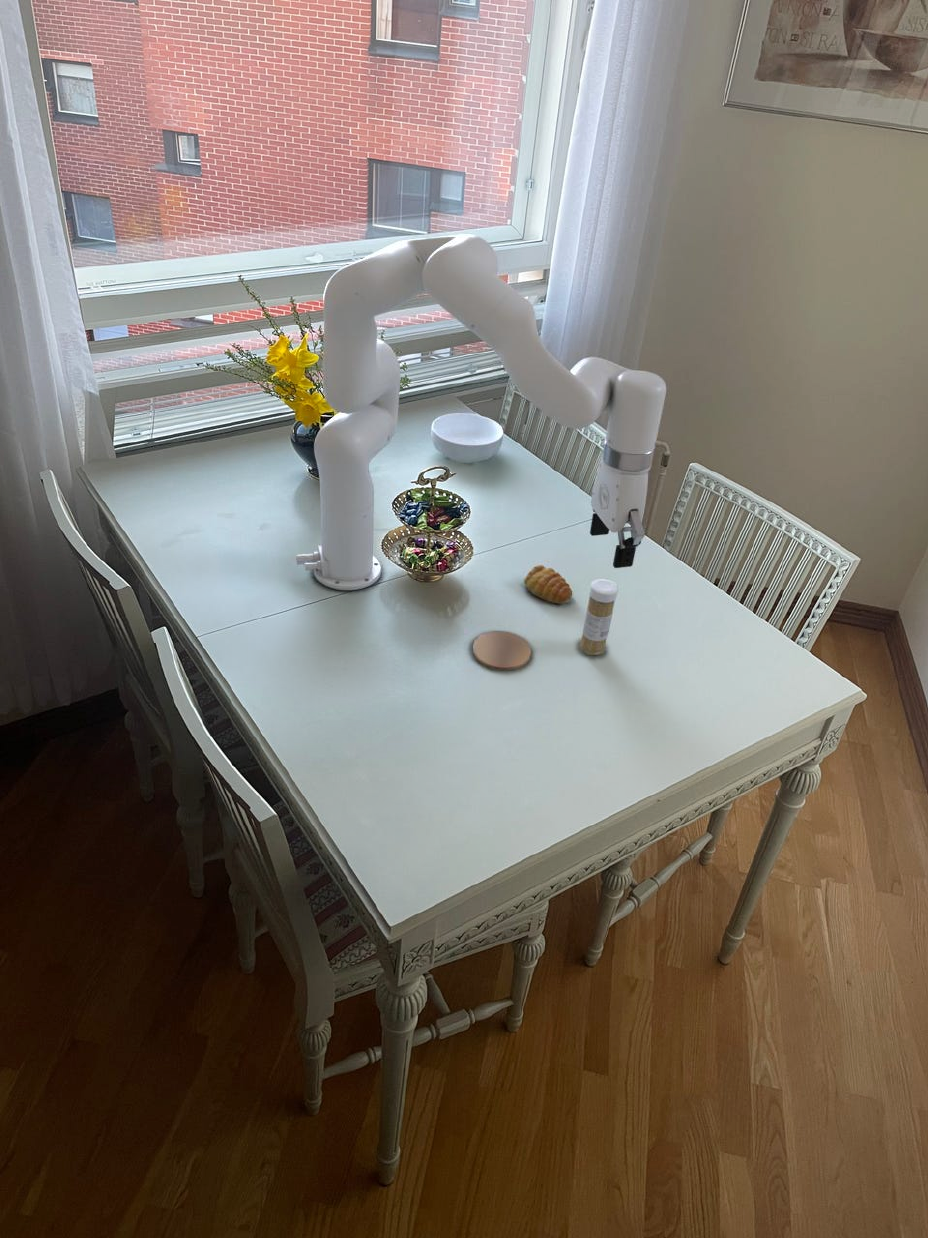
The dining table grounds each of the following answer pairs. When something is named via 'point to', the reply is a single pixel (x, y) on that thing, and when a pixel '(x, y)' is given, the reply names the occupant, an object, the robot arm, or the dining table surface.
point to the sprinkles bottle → (598, 616)
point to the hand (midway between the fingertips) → (610, 549)
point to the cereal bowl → (466, 437)
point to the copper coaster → (501, 650)
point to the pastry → (548, 585)
